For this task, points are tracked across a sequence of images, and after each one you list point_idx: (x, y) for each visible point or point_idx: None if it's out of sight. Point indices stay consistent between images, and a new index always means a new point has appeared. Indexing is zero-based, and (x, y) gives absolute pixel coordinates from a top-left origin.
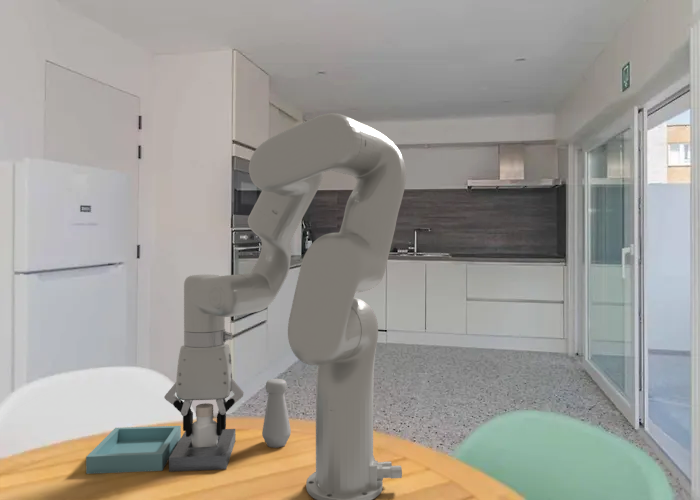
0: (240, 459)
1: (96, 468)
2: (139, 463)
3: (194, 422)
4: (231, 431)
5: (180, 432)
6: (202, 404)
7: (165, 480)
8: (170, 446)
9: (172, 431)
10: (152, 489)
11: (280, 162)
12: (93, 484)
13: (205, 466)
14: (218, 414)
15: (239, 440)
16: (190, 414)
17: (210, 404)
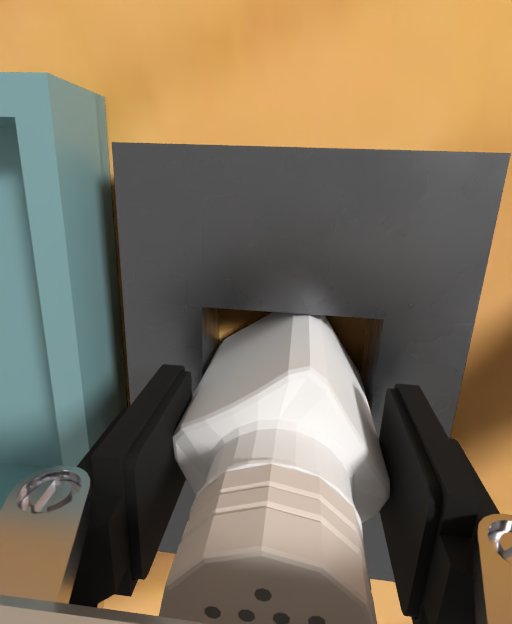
0: (476, 440)
1: None
2: None
3: (190, 453)
4: (471, 217)
5: (76, 92)
6: (227, 593)
7: (171, 560)
8: (98, 378)
9: (32, 213)
10: (147, 607)
11: None
12: None
13: None
14: (424, 621)
15: (499, 150)
16: (132, 537)
17: (340, 616)
